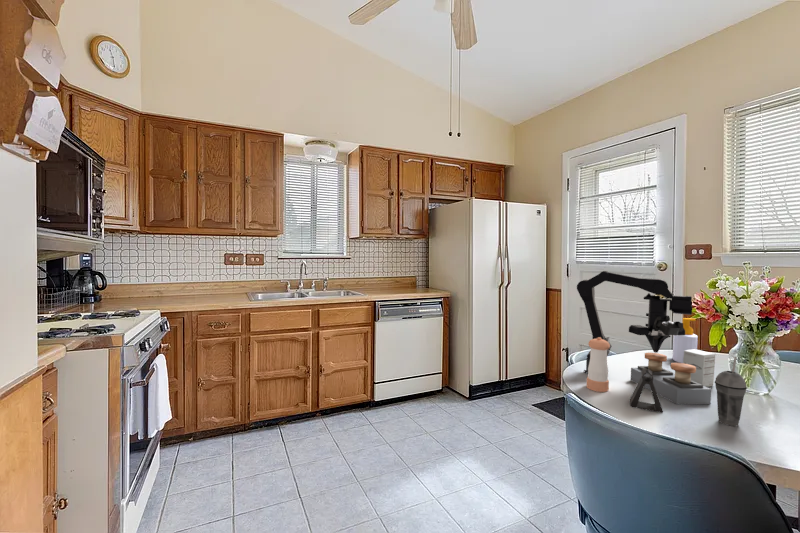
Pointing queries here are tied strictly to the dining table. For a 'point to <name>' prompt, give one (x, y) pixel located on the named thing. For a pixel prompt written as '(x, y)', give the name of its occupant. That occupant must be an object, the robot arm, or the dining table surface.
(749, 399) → the dining table surface
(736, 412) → the beverage cup
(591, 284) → the robot arm
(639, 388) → the phone stand
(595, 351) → the salt shaker
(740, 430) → the dining table surface
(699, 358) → the supplement box
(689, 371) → the pin right
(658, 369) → the pin left
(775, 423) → the dining table surface
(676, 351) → the soap bottle
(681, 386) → the socket block
